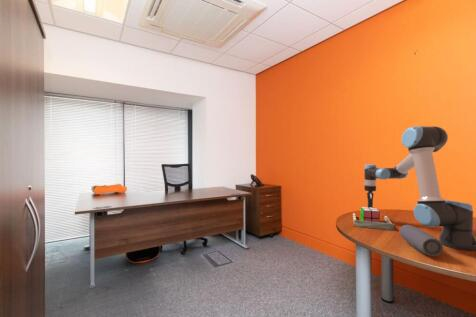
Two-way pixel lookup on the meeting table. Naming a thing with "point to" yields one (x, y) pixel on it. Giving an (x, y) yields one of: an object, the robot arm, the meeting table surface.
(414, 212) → the robot arm
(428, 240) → the bluetooth speaker
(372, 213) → the puzzle cube
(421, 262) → the meeting table surface
